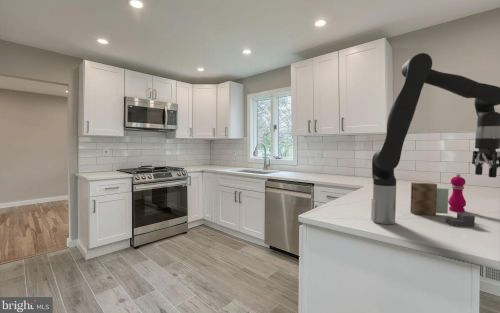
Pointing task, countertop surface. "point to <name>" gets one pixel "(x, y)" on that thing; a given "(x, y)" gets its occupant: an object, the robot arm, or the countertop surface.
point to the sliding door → (442, 200)
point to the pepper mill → (457, 194)
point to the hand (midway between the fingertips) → (485, 175)
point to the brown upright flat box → (423, 198)
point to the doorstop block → (462, 220)
